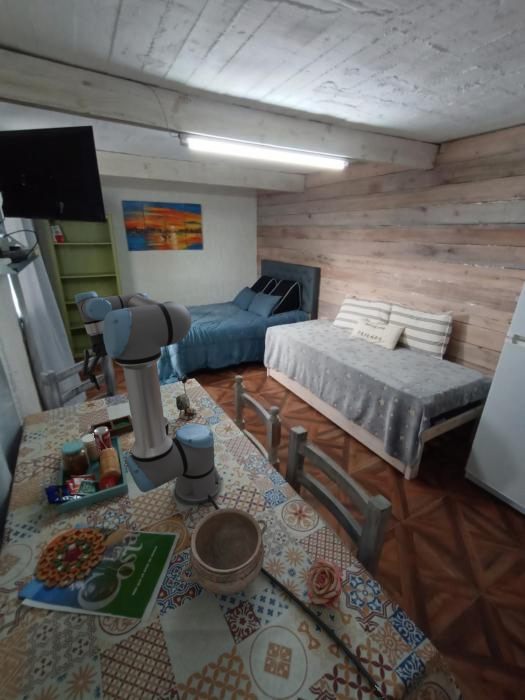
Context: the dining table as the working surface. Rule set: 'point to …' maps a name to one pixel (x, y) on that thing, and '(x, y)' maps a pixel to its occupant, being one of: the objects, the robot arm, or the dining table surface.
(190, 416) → the plant with pod
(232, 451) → the dining table surface
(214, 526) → the cooking pot
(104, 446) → the soda can
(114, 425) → the holder
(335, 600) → the flower
